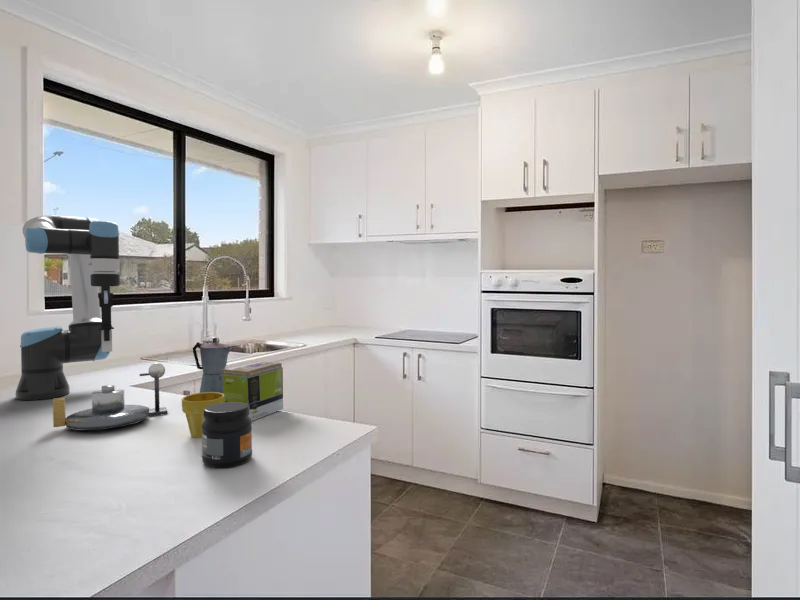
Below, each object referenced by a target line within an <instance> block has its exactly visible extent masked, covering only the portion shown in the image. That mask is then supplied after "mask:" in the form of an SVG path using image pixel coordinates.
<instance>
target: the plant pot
mask: <svg viewBox="0 0 800 600" xmlns="http://www.w3.org/2000/svg"><path fill="white" fill-rule="evenodd" d="M223 402H225V395H224V394H223V393H219V392H203V393H200V392H197V393H191V394H188V395H185V396H183V397H182V398H181V410H182V412H183V413H184V414H185V417H186V421H187V425H188V429H189V433H190V436H191V437H192V438H193V437H194V438H202V428H201V425H202V423H203V422H204V420H205V419H204V408H206V407H207V406H210V405H213V404H217V403H223Z"/></svg>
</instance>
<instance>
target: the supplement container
mask: <svg viewBox="0 0 800 600" xmlns="http://www.w3.org/2000/svg"><path fill="white" fill-rule="evenodd" d="M249 414H250V406H249V405H248V404H246V403H243V402H223V403H217V404H213V405H210V406H207V407H206V408H204V419H205V420H204V422H203V423H202V425H201V428H202V437H201V439H202V440H201V441H202V442H201V443H202V445H201V446H202V447H201V448H202V453H201V454H202V455H201V459H202V462H203V464H204V465H205V466H207V467H209V468H215V469H225V468H226V469H228V468H234V467H238V466H240V465H243V464H245V463H247V462H248V461H249V460H250V459H251V458H252V456H253V436H252V434H253V432H252V431H253V430H252V424H253V421H252V419H251V418H250V417H249V416H248V415H249Z"/></svg>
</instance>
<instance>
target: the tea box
mask: <svg viewBox="0 0 800 600" xmlns="http://www.w3.org/2000/svg"><path fill="white" fill-rule="evenodd" d="M222 371H223V394H224V395H225V402H243V403H246V404H248V405H249V406H250V414H249V415H248V416H249V417H250V418H251V419H252V420H253V421H256V420H258V419H260V418H262V417H266V416H268V415H272V414H274V413H276V412H275V411H277V412H279V411H282V410H284V398H283V397H284V396H283V395H284V394H283V393H284V392H283V390H284V389H283V388H284V387H283V367H282V362H272V361H259V360H257V361H253V362H252V361H251V362H247V363H245V364H244V363H242V364H239V365H235V366H231V367H225V369H222Z"/></svg>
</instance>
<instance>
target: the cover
mask: <svg viewBox="0 0 800 600" xmlns="http://www.w3.org/2000/svg"><path fill="white" fill-rule="evenodd" d="M124 405H125V389H123V388H115V385H114V384H107V385H102V386H101V390H95V391H93V392H91V407H92V408H91V409H92V411H93V412H96V413H105V412H113V411H118V410H121V409H123V408H124V407H125V406H124Z"/></svg>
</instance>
